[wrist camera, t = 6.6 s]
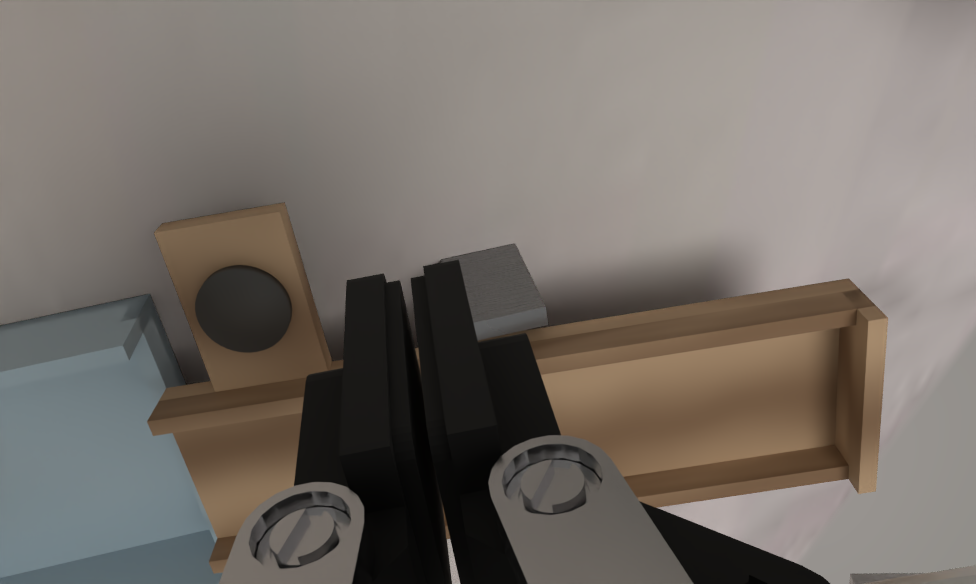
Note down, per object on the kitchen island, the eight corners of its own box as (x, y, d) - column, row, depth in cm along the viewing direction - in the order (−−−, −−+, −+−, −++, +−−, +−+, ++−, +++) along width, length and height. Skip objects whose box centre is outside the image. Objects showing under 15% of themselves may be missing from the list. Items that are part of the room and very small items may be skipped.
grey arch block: (440, 259, 31) (457, 326, 26) (515, 243, 32) (545, 306, 27) (480, 447, 36) (501, 535, 31) (545, 432, 36) (577, 517, 31)
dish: (-222, 372, 29) (-301, 437, 26) (149, 293, 30) (122, 345, 27) (-71, 596, 35) (-120, 675, 31) (242, 523, 35) (229, 592, 32)
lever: (114, 220, 27) (63, 270, 23) (841, 96, 26) (901, 130, 22) (235, 516, 33) (208, 592, 29) (829, 426, 31) (875, 493, 28)
